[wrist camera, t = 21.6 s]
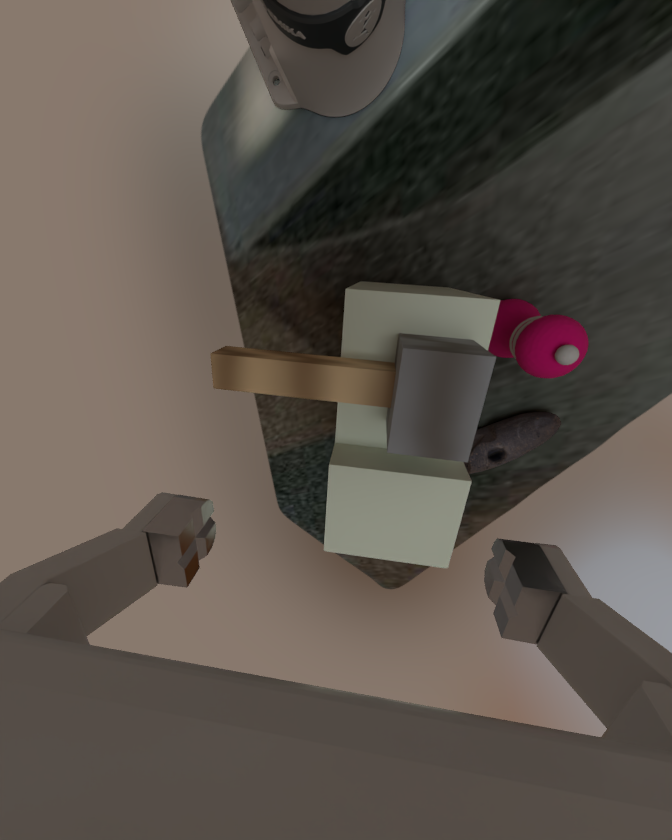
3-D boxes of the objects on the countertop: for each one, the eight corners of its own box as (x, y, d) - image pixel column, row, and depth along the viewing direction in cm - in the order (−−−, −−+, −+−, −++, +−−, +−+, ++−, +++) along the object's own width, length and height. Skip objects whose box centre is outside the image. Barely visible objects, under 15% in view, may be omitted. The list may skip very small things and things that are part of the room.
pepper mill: (537, 315, 46) (640, 344, 28) (499, 359, 49) (570, 411, 31) (496, 285, 45) (574, 295, 27) (460, 331, 48) (508, 368, 30)
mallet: (229, 403, 32) (199, 430, 27) (224, 317, 29) (187, 327, 23) (452, 428, 30) (467, 462, 25) (473, 339, 27) (496, 356, 22)
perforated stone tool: (545, 396, 50) (568, 414, 44) (554, 425, 52) (578, 446, 45) (447, 434, 54) (456, 455, 48) (459, 459, 56) (469, 483, 50)
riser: (347, 434, 57) (323, 550, 33) (360, 281, 47) (339, 291, 23) (419, 442, 56) (447, 568, 32) (448, 287, 46) (520, 304, 22)
